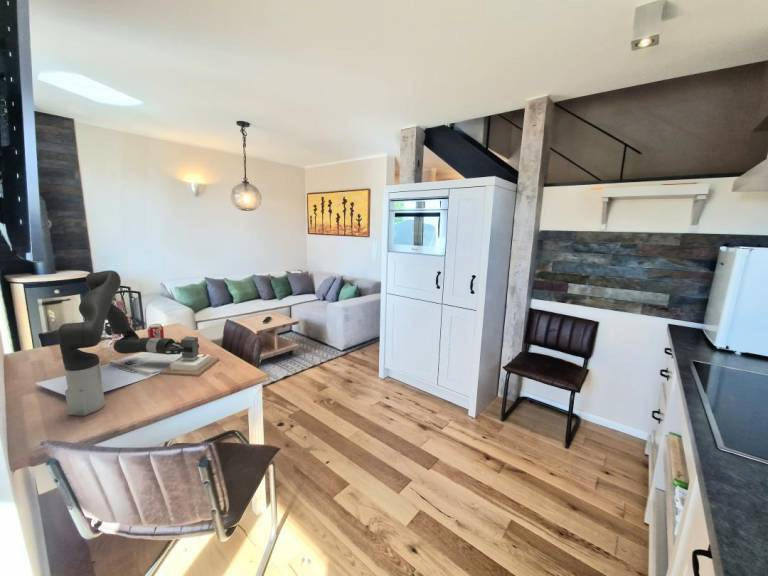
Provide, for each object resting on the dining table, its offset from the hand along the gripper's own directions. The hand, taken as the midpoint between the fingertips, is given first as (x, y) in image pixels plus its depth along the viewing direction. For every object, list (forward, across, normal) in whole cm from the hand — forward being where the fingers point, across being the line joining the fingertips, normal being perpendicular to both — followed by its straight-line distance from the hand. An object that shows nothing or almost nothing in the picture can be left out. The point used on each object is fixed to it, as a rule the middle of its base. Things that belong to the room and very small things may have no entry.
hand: (195, 348), depth 154 cm
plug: (-3, 0, +7) cm, 8 cm away
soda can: (-36, +22, +10) cm, 43 cm away
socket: (-3, 0, +10) cm, 10 cm away
